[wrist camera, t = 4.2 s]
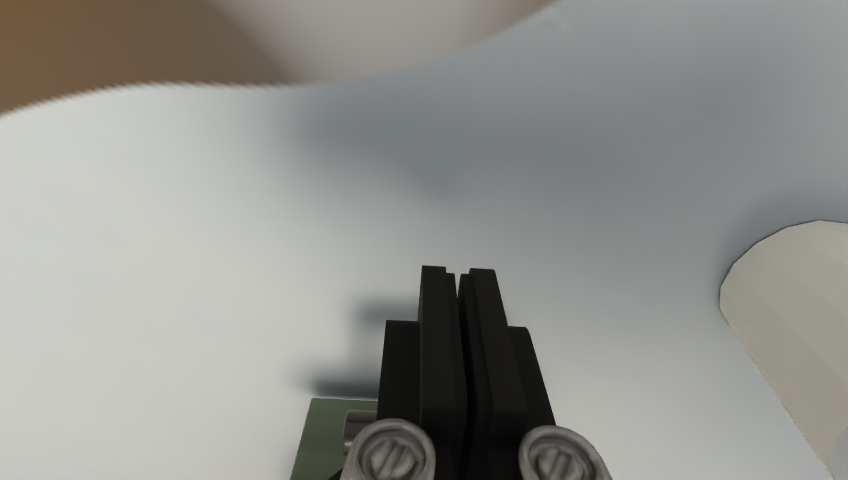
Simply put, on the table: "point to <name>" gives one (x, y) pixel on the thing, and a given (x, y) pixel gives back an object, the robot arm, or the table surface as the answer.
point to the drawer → (330, 436)
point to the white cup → (799, 328)
